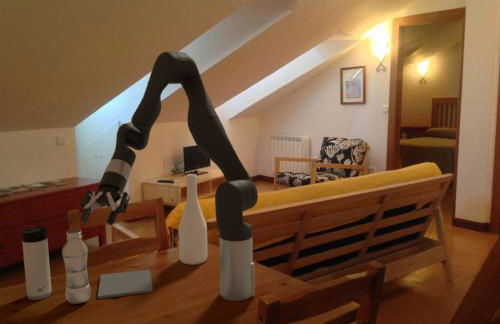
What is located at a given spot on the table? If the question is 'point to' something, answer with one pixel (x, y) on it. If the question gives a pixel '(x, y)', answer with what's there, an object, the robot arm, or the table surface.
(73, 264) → the plastic bottle
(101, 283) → the slate mat
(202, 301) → the table surface
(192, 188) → the wine bottle
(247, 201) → the robot arm
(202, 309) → the table surface
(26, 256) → the travel mug
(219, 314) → the table surface
